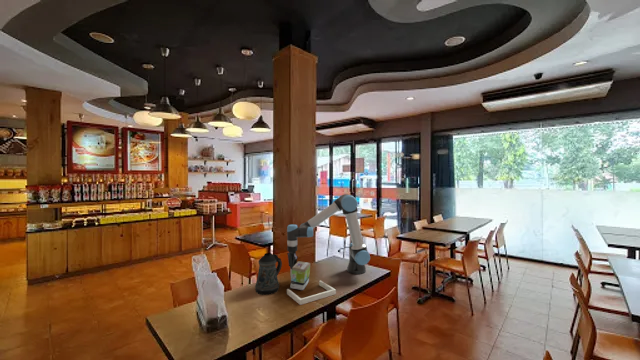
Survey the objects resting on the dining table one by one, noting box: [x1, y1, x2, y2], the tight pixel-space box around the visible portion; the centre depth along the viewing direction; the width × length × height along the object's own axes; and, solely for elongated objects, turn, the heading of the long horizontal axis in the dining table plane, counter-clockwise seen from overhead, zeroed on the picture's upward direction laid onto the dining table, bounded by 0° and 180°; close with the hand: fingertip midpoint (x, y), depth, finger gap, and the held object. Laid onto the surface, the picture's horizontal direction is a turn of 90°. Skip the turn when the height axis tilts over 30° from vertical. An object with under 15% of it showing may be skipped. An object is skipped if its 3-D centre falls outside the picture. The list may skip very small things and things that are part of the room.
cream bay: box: [286, 280, 337, 306], centre depth 180 cm, size 27×18×3 cm
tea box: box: [289, 260, 311, 291], centre depth 193 cm, size 15×10×15 cm
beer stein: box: [254, 252, 283, 296], centre depth 188 cm, size 16×19×25 cm
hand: (292, 276), depth 202 cm, fingers closed
